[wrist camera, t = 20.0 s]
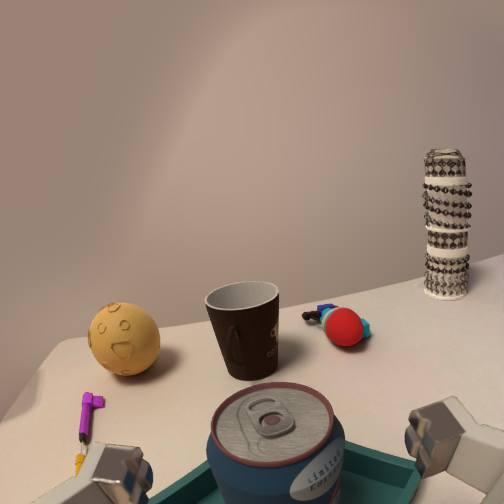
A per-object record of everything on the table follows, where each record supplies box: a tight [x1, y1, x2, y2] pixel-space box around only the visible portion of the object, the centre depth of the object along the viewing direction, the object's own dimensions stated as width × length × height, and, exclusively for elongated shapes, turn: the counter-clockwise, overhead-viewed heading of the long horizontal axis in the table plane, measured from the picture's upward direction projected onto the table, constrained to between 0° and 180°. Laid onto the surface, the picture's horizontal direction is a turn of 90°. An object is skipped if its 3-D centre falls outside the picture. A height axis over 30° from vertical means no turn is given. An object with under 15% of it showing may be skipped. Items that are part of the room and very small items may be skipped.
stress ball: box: [88, 303, 160, 375], centre depth 39 cm, size 10×10×10 cm
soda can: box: [206, 382, 345, 504], centre depth 15 cm, size 7×7×12 cm
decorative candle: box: [423, 149, 472, 301], centre depth 46 cm, size 9×9×25 cm
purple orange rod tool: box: [76, 392, 103, 477], centre depth 26 cm, size 3×1×16 cm
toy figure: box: [302, 304, 370, 346], centre depth 44 cm, size 8×5×15 cm
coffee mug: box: [204, 281, 279, 381], centre depth 36 cm, size 12×9×10 cm
